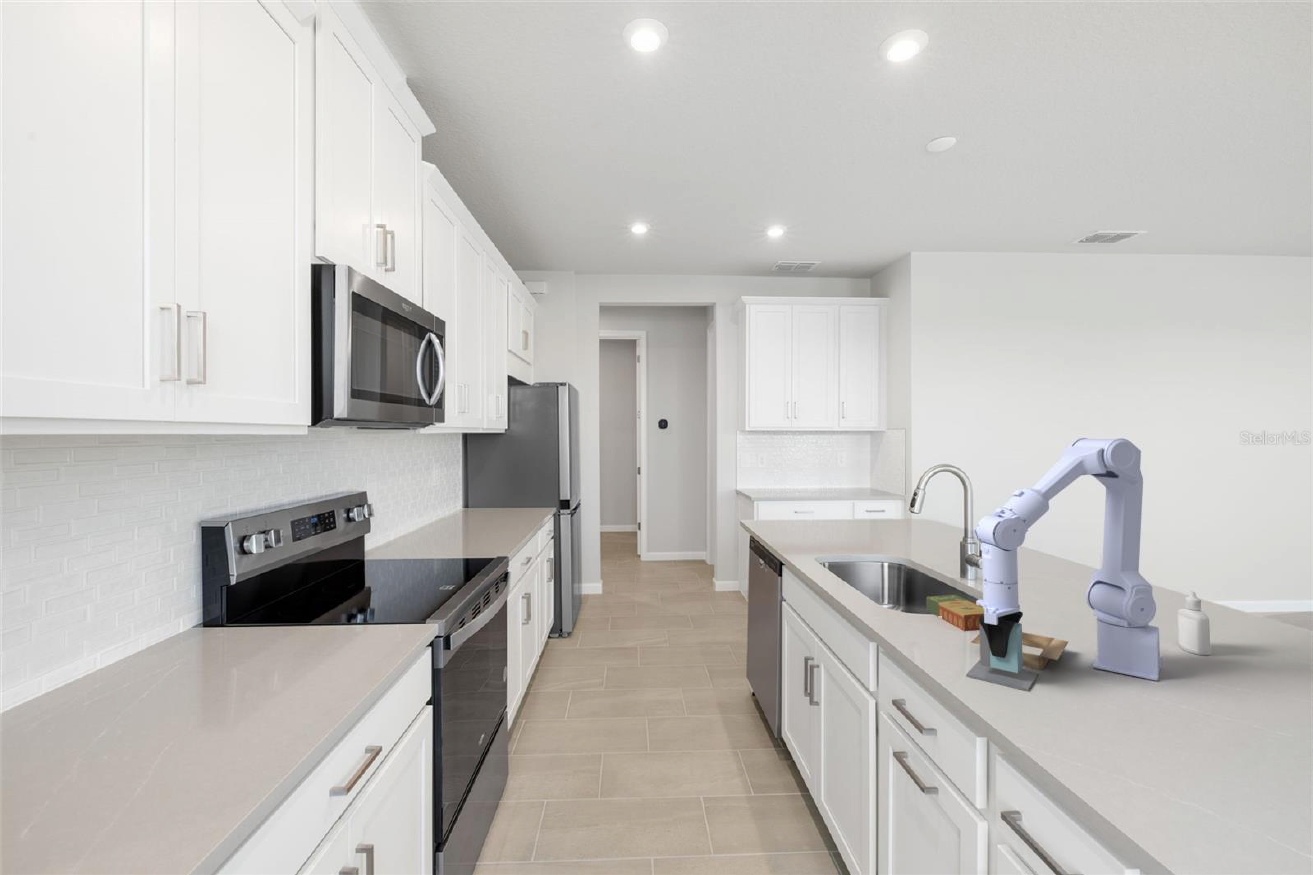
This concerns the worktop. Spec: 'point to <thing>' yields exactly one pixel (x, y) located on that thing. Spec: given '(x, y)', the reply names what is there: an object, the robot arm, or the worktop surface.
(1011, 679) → the slate coaster
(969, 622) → the carton
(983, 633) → the capped box
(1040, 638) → the open carton
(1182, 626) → the eye dropper bottle
